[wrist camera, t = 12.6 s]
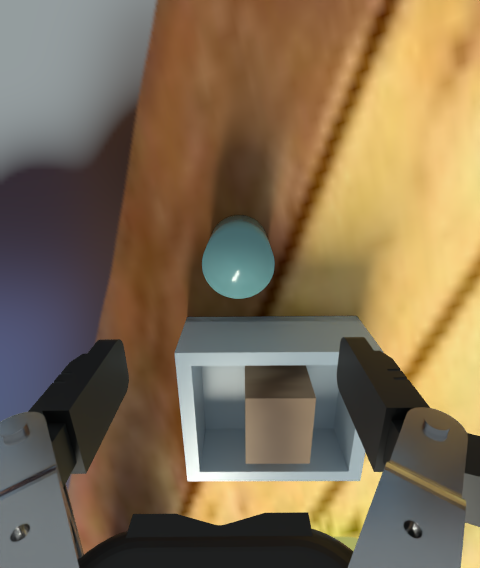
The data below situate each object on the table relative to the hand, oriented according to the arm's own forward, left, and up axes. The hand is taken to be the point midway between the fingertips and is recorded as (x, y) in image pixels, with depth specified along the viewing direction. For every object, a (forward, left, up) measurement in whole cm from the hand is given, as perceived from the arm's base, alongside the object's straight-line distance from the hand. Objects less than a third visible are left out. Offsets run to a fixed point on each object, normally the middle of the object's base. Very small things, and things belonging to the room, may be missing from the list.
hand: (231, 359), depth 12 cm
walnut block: (-3, +14, -16) cm, 21 cm away
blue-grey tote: (-3, +14, -17) cm, 22 cm away
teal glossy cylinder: (0, 0, -17) cm, 17 cm away
